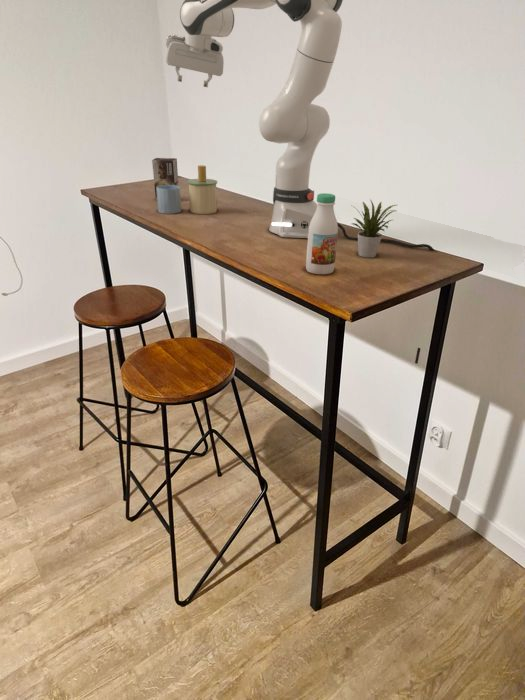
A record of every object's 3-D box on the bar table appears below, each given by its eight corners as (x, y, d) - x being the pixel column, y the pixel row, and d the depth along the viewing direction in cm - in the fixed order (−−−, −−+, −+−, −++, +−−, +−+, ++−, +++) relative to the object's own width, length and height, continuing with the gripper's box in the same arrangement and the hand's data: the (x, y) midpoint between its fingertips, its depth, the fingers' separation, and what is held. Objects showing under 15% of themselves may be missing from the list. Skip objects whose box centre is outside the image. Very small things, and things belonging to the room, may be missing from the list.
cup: (184, 209, 187) (183, 185, 183) (175, 214, 180) (174, 190, 175) (164, 207, 189) (162, 184, 185) (154, 212, 181) (152, 188, 177)
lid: (221, 183, 185) (221, 164, 182) (211, 188, 175) (211, 169, 172) (194, 181, 187) (193, 163, 184) (182, 186, 178) (181, 167, 174)
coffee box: (179, 197, 206) (177, 158, 198) (176, 201, 200) (173, 160, 192) (159, 196, 207) (156, 157, 199) (154, 200, 201) (151, 159, 193)
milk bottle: (300, 271, 128) (305, 195, 118) (314, 263, 134) (319, 190, 124) (325, 277, 125) (333, 199, 115) (338, 269, 130) (346, 194, 120)
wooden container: (220, 209, 189) (219, 181, 184) (211, 214, 181) (210, 186, 176) (195, 206, 192) (194, 179, 186) (186, 212, 183) (184, 184, 178)
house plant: (404, 256, 142) (414, 200, 134) (378, 266, 133) (387, 207, 125) (365, 245, 151) (372, 192, 143) (338, 254, 142) (344, 198, 134)
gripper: (167, 34, 159) (163, 80, 168) (227, 48, 164) (220, 92, 173) (167, 31, 164) (163, 75, 172) (225, 45, 169) (219, 87, 178)
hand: (192, 84), depth 173 cm, fingers open, 8 cm apart
